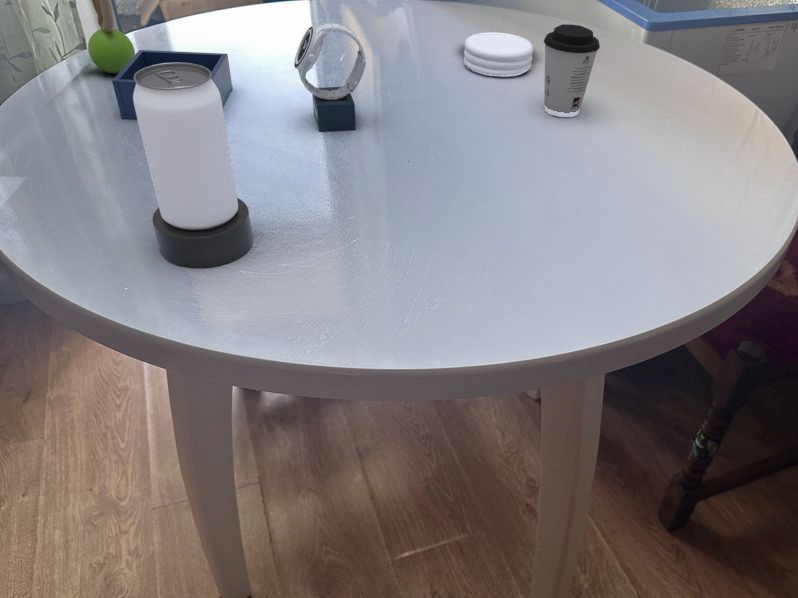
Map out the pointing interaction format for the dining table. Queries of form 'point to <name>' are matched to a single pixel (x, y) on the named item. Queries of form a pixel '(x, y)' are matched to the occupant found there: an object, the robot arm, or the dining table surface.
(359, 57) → the watch
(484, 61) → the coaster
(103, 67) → the green maraca
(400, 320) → the dining table surface
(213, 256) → the stand
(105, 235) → the dining table surface
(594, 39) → the coffee cup
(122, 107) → the blue open box
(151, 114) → the can
